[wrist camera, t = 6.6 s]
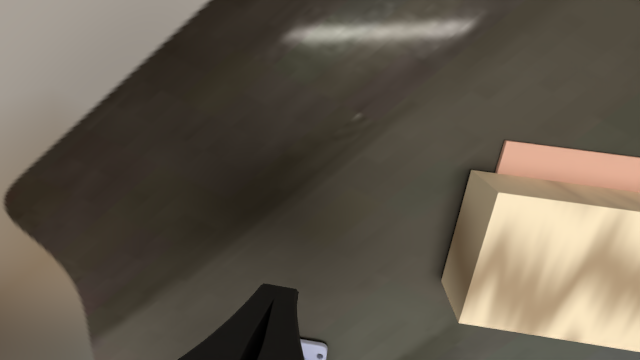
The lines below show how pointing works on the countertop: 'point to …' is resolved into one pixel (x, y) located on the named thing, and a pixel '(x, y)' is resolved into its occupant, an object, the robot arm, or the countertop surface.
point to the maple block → (547, 260)
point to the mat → (570, 165)
